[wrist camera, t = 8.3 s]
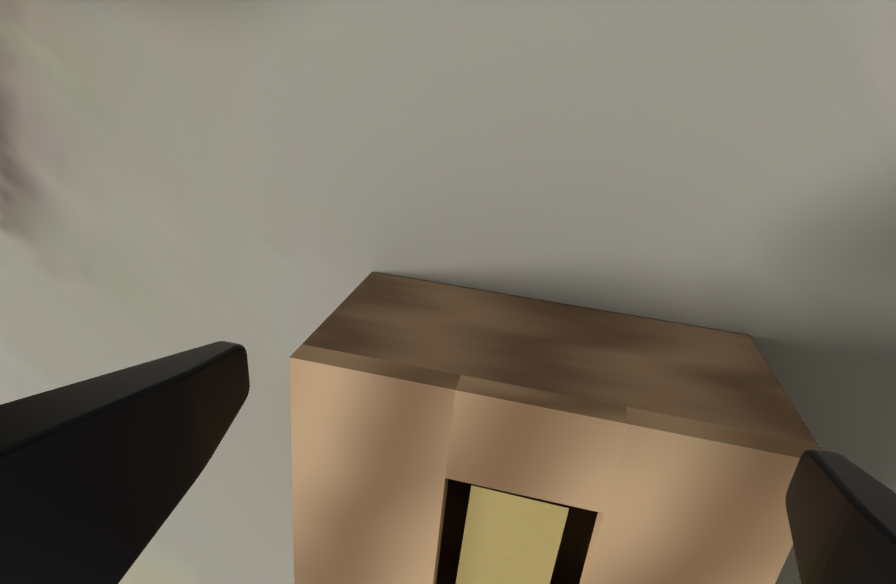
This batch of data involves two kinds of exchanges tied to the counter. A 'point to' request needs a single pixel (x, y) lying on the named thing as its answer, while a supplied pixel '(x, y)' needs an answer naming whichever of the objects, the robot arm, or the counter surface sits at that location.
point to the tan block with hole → (535, 439)
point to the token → (509, 538)
